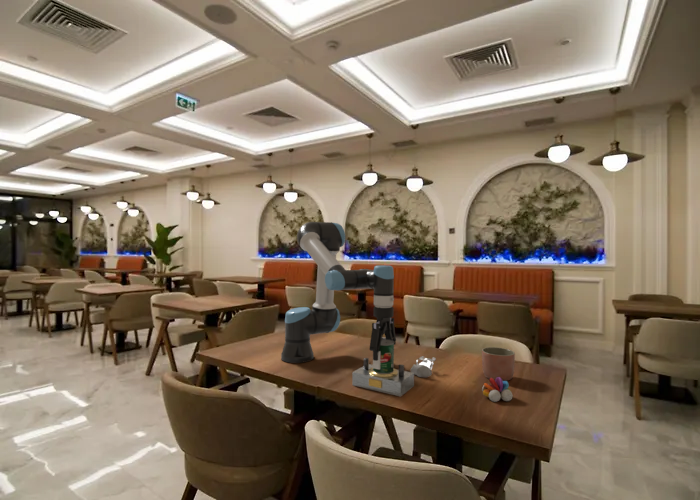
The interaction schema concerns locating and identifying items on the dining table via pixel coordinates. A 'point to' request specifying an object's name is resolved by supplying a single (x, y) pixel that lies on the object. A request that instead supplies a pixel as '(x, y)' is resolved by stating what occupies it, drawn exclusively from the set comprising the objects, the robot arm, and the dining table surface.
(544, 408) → the dining table surface
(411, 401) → the dining table surface
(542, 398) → the dining table surface
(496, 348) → the planter
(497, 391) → the rainbow wheeled toy
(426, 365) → the figurine
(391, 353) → the canned tomato
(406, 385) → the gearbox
